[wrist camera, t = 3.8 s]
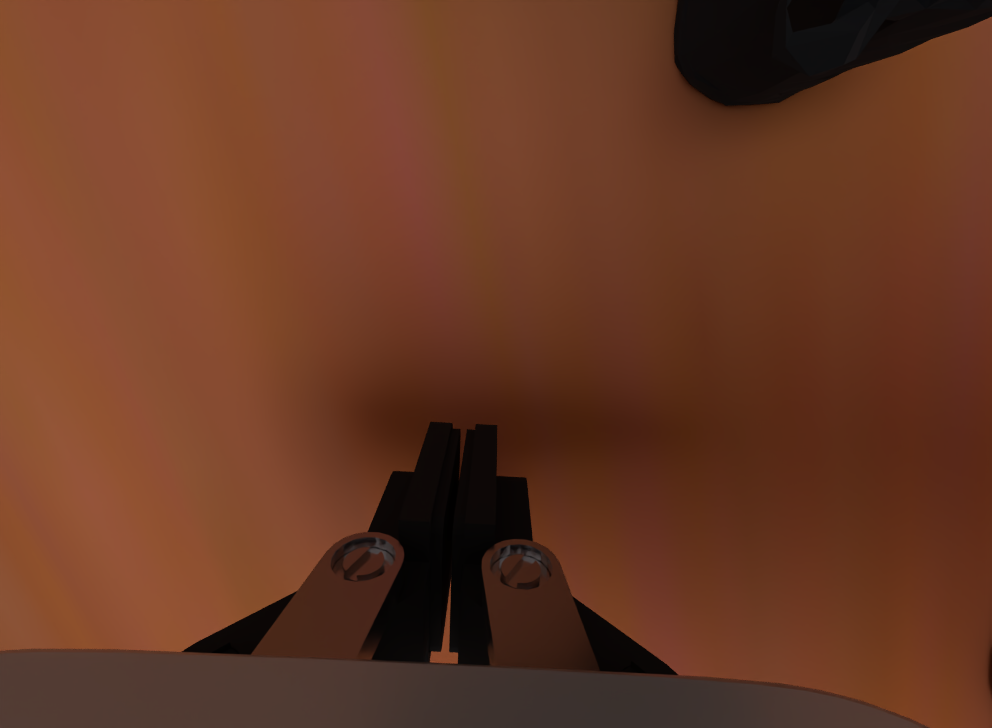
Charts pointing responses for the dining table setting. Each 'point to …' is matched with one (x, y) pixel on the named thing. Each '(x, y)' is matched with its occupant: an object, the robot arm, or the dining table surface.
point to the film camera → (801, 40)
